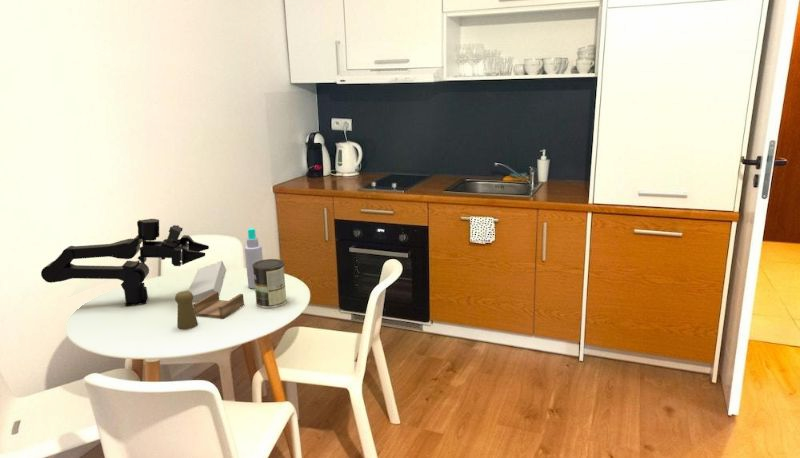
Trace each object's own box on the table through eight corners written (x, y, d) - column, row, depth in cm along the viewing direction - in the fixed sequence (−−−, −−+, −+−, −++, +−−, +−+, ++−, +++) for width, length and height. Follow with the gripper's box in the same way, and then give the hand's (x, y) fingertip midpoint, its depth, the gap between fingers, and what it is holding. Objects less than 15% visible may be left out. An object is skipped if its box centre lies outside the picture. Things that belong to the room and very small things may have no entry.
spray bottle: (258, 282, 213) (253, 226, 208) (268, 285, 209) (263, 228, 204) (245, 287, 209) (239, 229, 203) (254, 290, 205) (249, 231, 200)
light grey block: (190, 310, 196) (218, 300, 197) (185, 298, 194) (213, 288, 195) (202, 279, 228) (226, 271, 229) (198, 269, 227) (222, 260, 228)
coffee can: (253, 309, 187) (249, 268, 184) (259, 298, 197) (255, 259, 194) (284, 307, 188) (281, 267, 185) (288, 296, 198) (285, 258, 195)
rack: (194, 315, 183) (192, 304, 182) (216, 302, 194) (215, 291, 193) (223, 318, 180) (222, 307, 179) (244, 305, 191) (243, 294, 190)
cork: (177, 323, 178) (172, 290, 175) (197, 320, 180) (193, 287, 177) (177, 330, 172) (172, 297, 169) (198, 327, 174) (194, 294, 171)
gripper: (153, 233, 183) (203, 235, 187) (164, 220, 201) (210, 222, 204) (153, 266, 186) (203, 267, 189) (165, 250, 204) (210, 252, 207)
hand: (207, 250), depth 197 cm, fingers open, 9 cm apart
